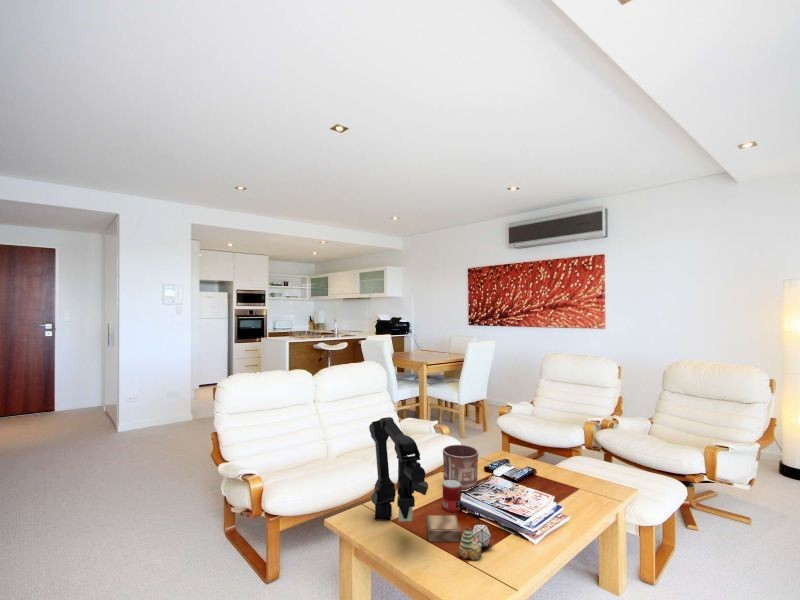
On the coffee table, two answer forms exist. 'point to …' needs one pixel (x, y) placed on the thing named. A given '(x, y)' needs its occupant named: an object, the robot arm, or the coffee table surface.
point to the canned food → (451, 495)
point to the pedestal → (443, 529)
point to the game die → (481, 534)
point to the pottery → (461, 465)
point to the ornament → (469, 546)
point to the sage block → (409, 517)
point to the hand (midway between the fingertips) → (405, 515)
